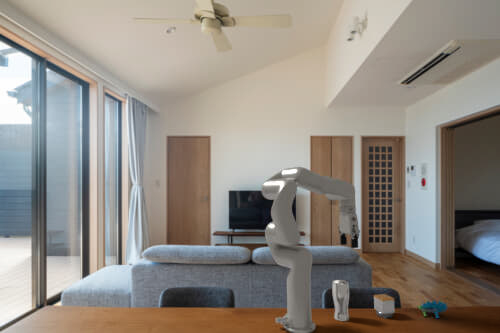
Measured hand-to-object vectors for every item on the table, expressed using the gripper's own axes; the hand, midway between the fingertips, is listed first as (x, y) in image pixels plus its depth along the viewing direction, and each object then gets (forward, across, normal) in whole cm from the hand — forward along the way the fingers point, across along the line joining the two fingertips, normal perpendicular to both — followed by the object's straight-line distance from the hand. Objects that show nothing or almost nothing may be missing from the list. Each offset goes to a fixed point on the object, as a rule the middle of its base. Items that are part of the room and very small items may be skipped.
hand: (349, 246), depth 138 cm
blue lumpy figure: (+28, -17, -29) cm, 44 cm away
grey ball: (+28, -11, -9) cm, 32 cm away
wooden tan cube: (+26, -11, -9) cm, 30 cm away
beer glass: (+28, -10, +11) cm, 32 cm away
